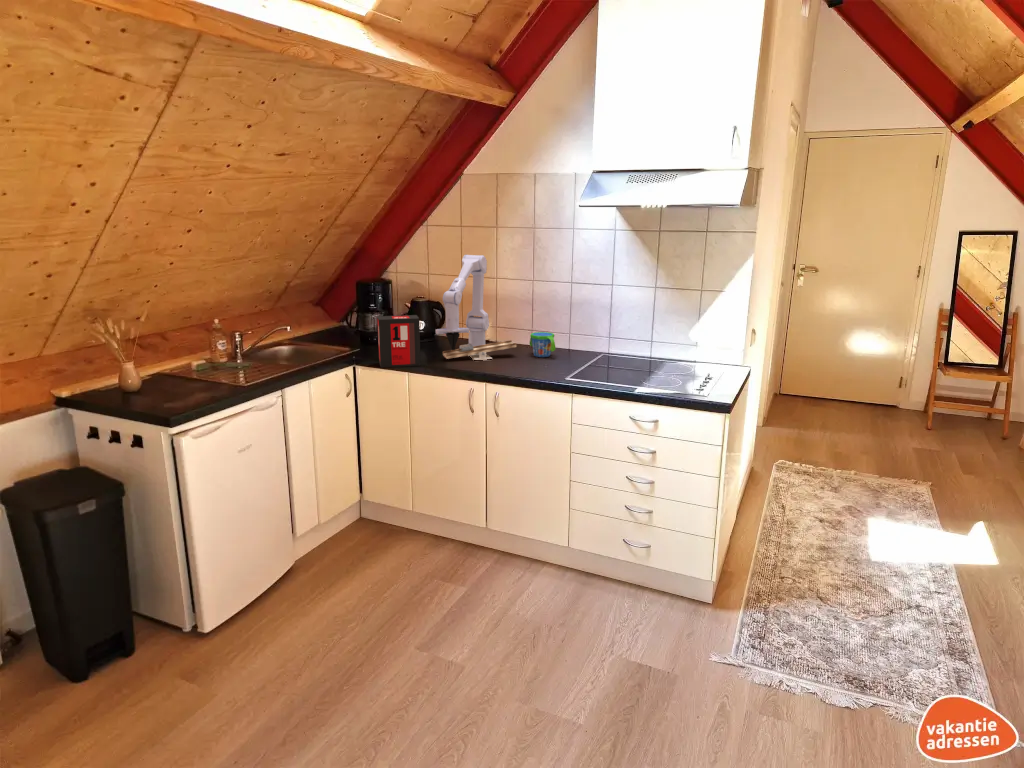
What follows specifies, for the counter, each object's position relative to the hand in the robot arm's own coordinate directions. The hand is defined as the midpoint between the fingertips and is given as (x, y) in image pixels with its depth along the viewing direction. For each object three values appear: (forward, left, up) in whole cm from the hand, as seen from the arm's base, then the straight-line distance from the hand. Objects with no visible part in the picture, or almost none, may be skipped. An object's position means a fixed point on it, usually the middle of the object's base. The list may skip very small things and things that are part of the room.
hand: (452, 349), depth 290 cm
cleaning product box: (+2, -24, -5) cm, 24 cm away
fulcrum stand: (0, +12, -4) cm, 13 cm away
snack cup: (+4, +40, -5) cm, 41 cm away
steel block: (0, +6, -1) cm, 6 cm away
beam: (0, +12, -1) cm, 12 cm away
